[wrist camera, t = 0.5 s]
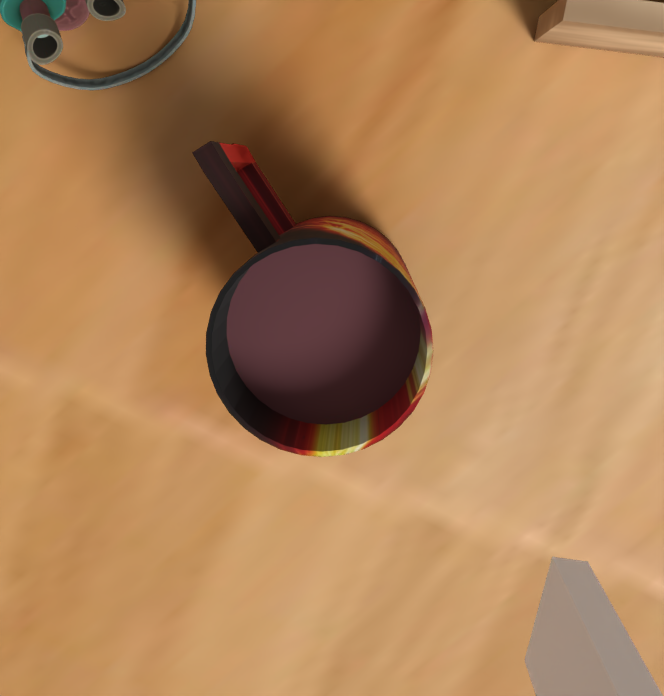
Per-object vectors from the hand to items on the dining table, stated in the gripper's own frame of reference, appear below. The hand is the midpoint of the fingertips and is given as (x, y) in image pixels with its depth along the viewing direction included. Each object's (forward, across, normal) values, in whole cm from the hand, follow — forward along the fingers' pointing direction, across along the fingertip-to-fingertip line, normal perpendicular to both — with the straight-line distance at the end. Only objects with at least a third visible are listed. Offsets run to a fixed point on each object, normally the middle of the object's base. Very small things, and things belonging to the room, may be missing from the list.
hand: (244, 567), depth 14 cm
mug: (+26, -1, +2) cm, 26 cm away
